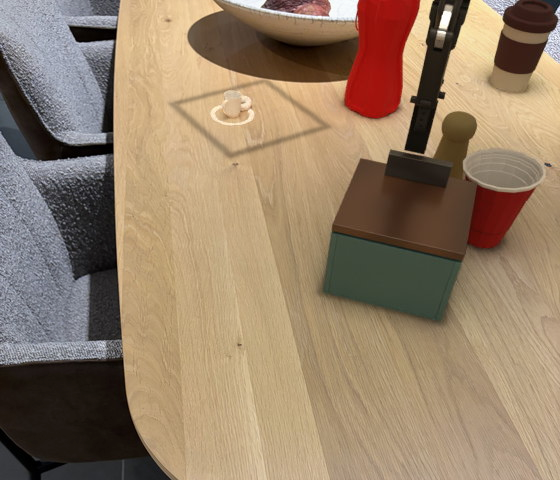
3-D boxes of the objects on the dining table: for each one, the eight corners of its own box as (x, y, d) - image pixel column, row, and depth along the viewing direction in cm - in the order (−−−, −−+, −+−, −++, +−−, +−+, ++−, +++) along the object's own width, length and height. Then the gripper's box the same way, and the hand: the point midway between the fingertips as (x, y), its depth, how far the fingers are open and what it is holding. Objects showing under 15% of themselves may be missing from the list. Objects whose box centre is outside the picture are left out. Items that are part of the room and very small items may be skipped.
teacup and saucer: (243, 101, 112) (243, 79, 109) (266, 120, 108) (267, 97, 105) (202, 112, 109) (201, 89, 106) (224, 132, 105) (224, 109, 102)
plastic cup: (448, 209, 94) (471, 136, 84) (518, 227, 91) (550, 155, 82) (434, 249, 87) (457, 175, 78) (509, 270, 85) (542, 196, 76)
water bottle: (360, 88, 118) (384, -64, 99) (405, 110, 114) (439, -46, 95) (329, 102, 114) (348, -54, 95) (374, 125, 109) (403, -35, 90)
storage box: (453, 252, 87) (474, 191, 79) (439, 324, 77) (461, 263, 69) (348, 227, 89) (358, 166, 81) (321, 295, 79) (331, 232, 72)
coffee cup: (538, 85, 124) (569, 4, 112) (522, 103, 118) (552, 19, 107) (493, 71, 127) (518, -9, 115) (475, 87, 121) (499, 5, 110)
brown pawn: (417, 178, 99) (434, 113, 90) (440, 166, 101) (458, 102, 93) (446, 195, 96) (466, 129, 88) (469, 182, 99) (490, 117, 90)
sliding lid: (475, 189, 79) (484, 161, 76) (462, 261, 69) (473, 232, 66) (359, 164, 81) (364, 136, 78) (331, 230, 71) (335, 201, 68)
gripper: (439, -85, 66) (396, 121, 85) (421, -52, 58) (377, 168, 76) (508, -74, 65) (449, 132, 83) (499, -39, 57) (436, 181, 75)
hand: (415, 149), depth 80 cm, fingers closed
